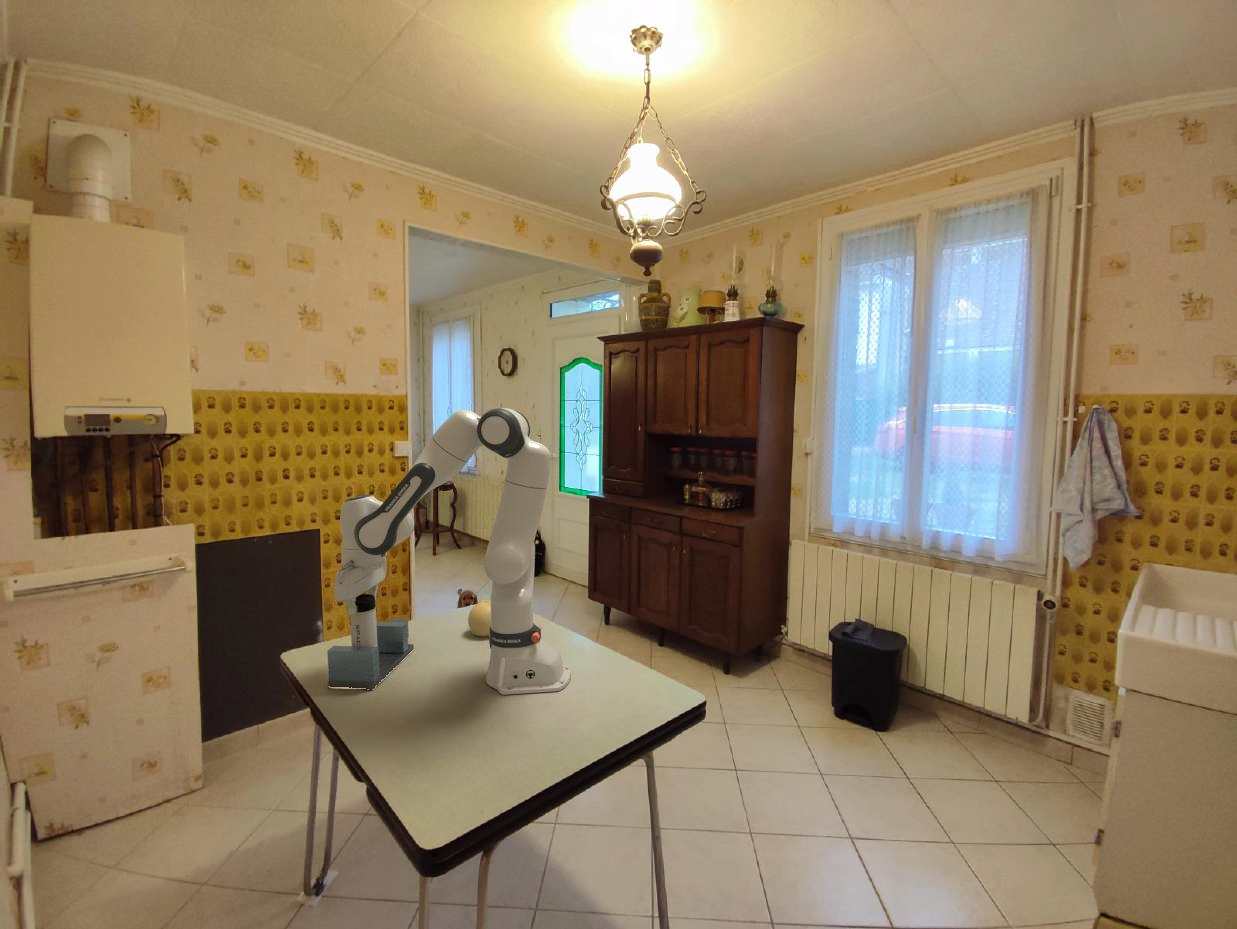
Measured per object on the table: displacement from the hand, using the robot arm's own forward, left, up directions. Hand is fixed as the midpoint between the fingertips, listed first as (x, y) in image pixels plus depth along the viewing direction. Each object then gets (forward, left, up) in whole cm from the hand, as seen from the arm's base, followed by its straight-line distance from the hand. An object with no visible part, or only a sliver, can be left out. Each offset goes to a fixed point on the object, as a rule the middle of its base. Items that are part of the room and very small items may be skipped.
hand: (362, 607), depth 149 cm
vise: (0, -4, -19) cm, 20 cm away
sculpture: (-24, -31, -19) cm, 44 cm away
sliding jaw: (0, -16, -17) cm, 23 cm away
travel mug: (0, 0, -17) cm, 17 cm away
